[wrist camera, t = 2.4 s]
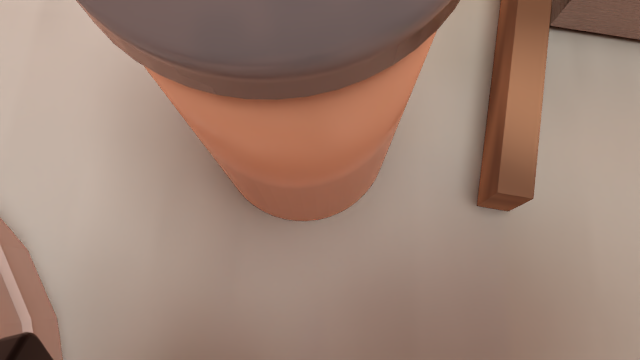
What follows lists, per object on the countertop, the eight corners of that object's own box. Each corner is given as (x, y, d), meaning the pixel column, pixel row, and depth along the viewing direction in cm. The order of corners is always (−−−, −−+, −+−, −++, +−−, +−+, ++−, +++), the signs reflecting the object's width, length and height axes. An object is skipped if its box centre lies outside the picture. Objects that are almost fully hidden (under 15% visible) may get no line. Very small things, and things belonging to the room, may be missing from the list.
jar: (356, 251, 20) (429, 131, 6) (189, 190, 21) (-96, -49, 7) (413, 91, 22) (578, -308, 8) (254, 38, 22) (132, -425, 8)
